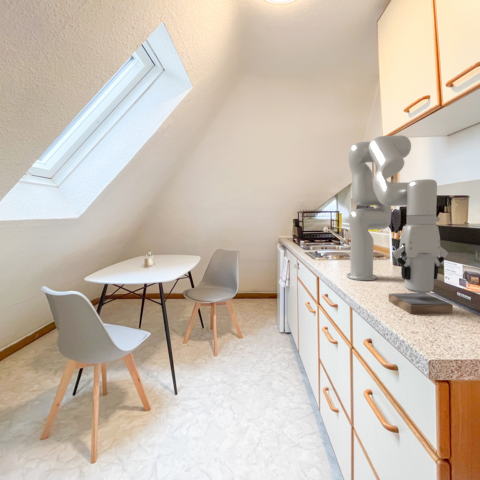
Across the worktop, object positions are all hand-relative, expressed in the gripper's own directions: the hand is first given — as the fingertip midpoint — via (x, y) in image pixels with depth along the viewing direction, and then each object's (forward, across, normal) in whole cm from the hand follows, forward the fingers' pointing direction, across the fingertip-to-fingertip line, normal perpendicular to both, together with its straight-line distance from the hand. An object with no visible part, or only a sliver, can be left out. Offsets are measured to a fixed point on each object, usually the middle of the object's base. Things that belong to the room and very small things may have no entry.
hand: (419, 278), depth 85 cm
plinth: (+10, 0, 0) cm, 10 cm away
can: (+4, 0, 0) cm, 4 cm away
